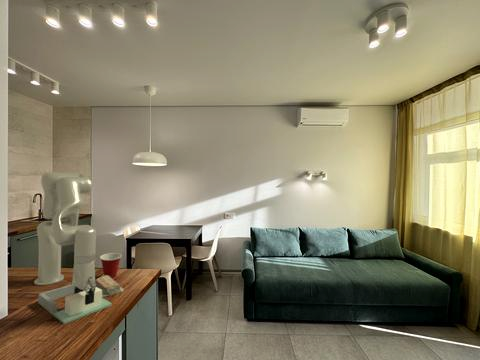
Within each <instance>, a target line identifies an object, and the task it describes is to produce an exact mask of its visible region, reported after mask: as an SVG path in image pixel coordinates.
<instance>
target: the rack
mask: <svg viewBox="0 0 480 360" xmlns="http://www.w3.org/2000/svg"><path fill="white" fill-rule="evenodd" d="M88 286H90V285H88ZM89 289H91V288H88V290H89ZM83 291H85V289H83ZM73 294H74V285H73V283H72V284H68V285H64V286H62V287H57V288H55V289H51V290H48V291H44V292H41V293H38V301H37V302H38V304H39V305H40V306H41V307H43V309H45V310H46V311H47V312H49V313H50V314H51V315H53V313H56V312H58V303H57V302H56V301H55V300H58V299H60V298H65V297H67V296H70V295H73Z"/></svg>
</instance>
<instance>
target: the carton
mask: <svg viewBox="0 0 480 360" xmlns="http://www.w3.org/2000/svg"><path fill="white" fill-rule="evenodd" d="M89 290H90V289H89ZM89 290H88V291H89ZM85 295H86V291H83V292H79V293H76V294H71V295H67V296H64V310H65V313H67V314H68V315H69V316H72V315H74V314H77V313H80V312H83V311H85V310H88V309H91V308H93V307H96V306H99V305H101V304H102V290H101V289H99V288H97V287H96V288H95V293H94V302H93V303H91V304H88V305H85Z"/></svg>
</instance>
